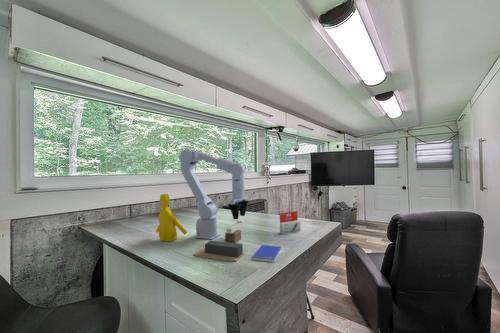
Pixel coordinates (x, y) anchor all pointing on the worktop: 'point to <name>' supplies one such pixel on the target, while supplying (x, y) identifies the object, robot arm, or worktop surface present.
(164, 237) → the figure statuette
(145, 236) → the worktop surface
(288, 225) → the ink cartridge box
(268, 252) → the hard drive
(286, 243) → the worktop surface
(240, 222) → the strap
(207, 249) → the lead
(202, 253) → the mat
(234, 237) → the block
